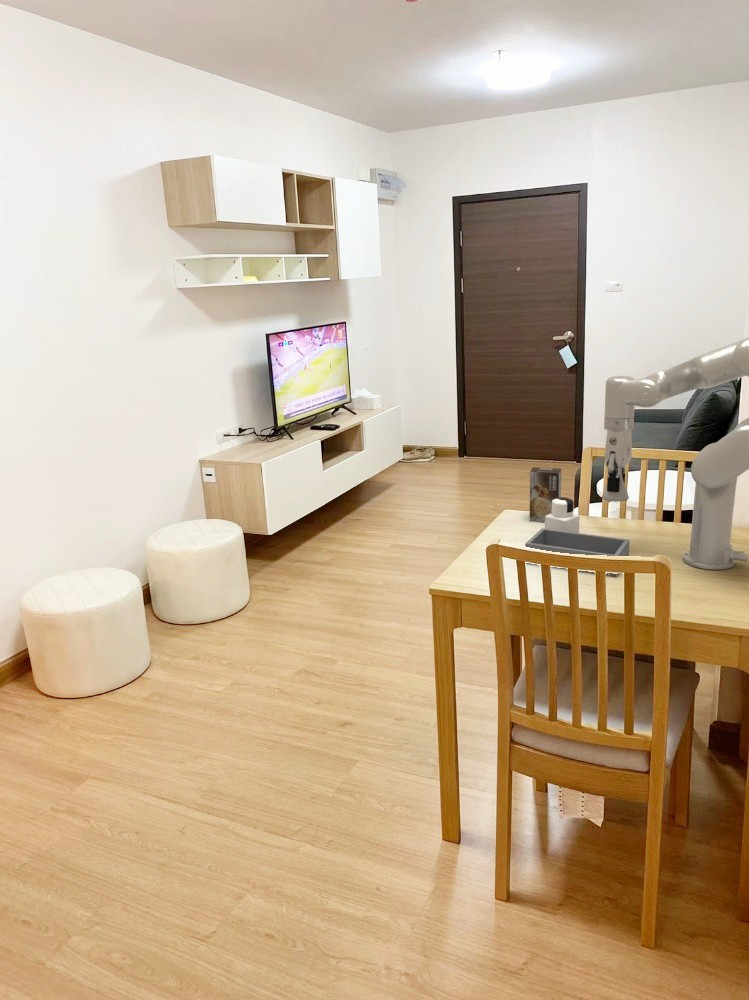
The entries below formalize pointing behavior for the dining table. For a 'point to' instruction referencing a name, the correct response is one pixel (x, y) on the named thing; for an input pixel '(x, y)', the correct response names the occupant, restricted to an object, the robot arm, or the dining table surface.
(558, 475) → the coffee box
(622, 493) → the flask
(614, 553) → the box
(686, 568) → the dining table surface
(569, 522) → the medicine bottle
